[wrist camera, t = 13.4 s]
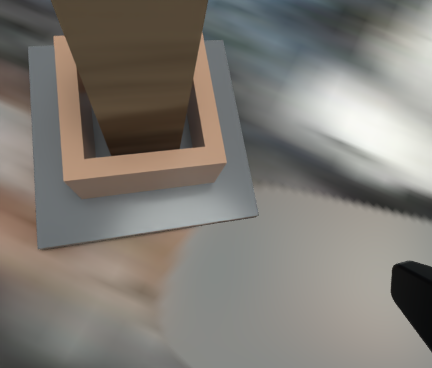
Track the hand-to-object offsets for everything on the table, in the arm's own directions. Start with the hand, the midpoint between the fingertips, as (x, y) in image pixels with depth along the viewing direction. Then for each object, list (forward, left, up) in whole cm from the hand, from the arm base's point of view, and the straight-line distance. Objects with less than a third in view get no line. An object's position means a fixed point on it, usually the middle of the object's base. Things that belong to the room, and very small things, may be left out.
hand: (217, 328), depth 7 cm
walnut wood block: (+2, +10, -12) cm, 16 cm away
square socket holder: (+2, +10, -13) cm, 17 cm away
